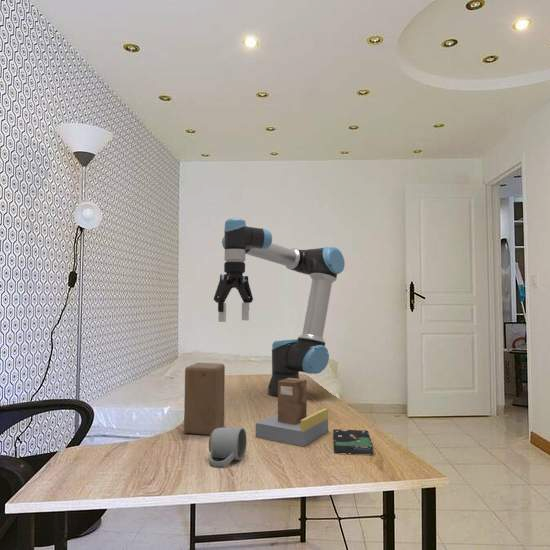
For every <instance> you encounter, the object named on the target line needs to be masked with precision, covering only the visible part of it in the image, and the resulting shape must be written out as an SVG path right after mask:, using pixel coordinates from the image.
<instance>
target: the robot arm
mask: <svg viewBox="0 0 550 550" xmlns="http://www.w3.org/2000/svg"><path fill="white" fill-rule="evenodd" d="M223 232H224V234H223V235H224V236H223V237H222V239H221V244H222V247H223V249H224V260H223V261H225V262H224V264H223V267H224V268H223V269H224V270H223V271H224V273H222V274H220V275H219V281H218V284H217V287H216V290H215V293H214V296H213V301H215V303H216V304H217V311H218V322H219V323H220V322H221V323H222V322H223V323H225V322H227V302H226V300H227V298H228V296H229V294H230V292H231V291H232V289H236V290H237V291H238V294H239V296H240V297H241V300H242V302H241V321H250V320H249V319H250V303H252V302H253V301H254V297H253V294H252V290H251V287H250V282H249V276H248V275H243V274H244V273H246V263H245V261H246V255H249V256H252V257H255V258H258V259H261V260H265V261H268V262H271V263H275V264H277V265H282V266H285V268H286V269H288V270H290V271H293V272H297V273H300V274H304V275H308V276H309V277H310V278H311V286H310V291H309V295H308V301H307V306H306V312H305V318H304V323H303V328H302V334H301V335H299V336H298V337H297V338H296V339H284V340H274V341H273V342H272V344H271V345H272V347H271V378H270V380H269V383H268V388H267V394H268V395H269V394H270V396H273V397H278V381H280V380H283V379H287V378H297V379H301V378H300V373H299V372H301V373H305V374H308V375H309V374H310V375H311V374H314V375H317V374H320V373H322V372H323V371H324V370H325V369H326V367H327V366H328V364H329V359H330V352H329V350H328V348H327V347H326V341H325V340H324V330H325V327H326V326H325V325H326V319H327V315H328V309H329V303H330V297H331V291H332V286H333V283H334V282H337V278H338V275H340V274H341V273H342V272H343V271H344V270H345V257H344V255H343V253H342V252H341V249H339V248H337V247H335V246H325V247H319V248H310V249H308V248H307V249H298V248H287V247H285V246H282V245H278V244H276V243H272V242H273V235H272V233H271V231H270V230H269V229H265V228H259V227H251V226H247V224H246V219H243V218H228V219H226V220H225V221H224V231H223Z"/></svg>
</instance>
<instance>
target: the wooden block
mask: <svg viewBox="0 0 550 550" xmlns="http://www.w3.org/2000/svg"><path fill="white" fill-rule="evenodd" d="M225 369H226V367H225V364H224V363H220V362H219V363H216V362H215V363H213V362H212V363H211V362H197V363H194V364H191V365H188V366H186V367H185V369H184V409H183V411H184V412H183V413H184V415H183V416H184V417H183V418H184V419H183V423H184V424H183V432H184V433H185V434H189V433H191V434H192V435H203V434H204V435H206V436H207V435H208V436H210V435H211V433H212V431H213V430H214V429H217V428H224V426H225V383H226V381H225V372H226V370H225ZM191 434H190V435H191Z"/></svg>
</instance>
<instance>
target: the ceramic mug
mask: <svg viewBox="0 0 550 550" xmlns="http://www.w3.org/2000/svg"><path fill="white" fill-rule="evenodd" d="M247 442H248V441H247V432H246V429H245V428H244V427H222V428H217V429H214V430H213V431H212V433H211V435H209V439H208V450H209V461H210V462H209V463H210V464H211V465H212V466H214V467H216V468H217V467H219V468H222V467H225V466H228V465H229V464H231V462H232V461H242V460H243V458H244V457H245V454H246V451H247V445H248V444H247ZM213 457H214V458H217V459H223V460H219V461H216V460H214V459H213Z"/></svg>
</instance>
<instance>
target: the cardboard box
mask: <svg viewBox="0 0 550 550" xmlns="http://www.w3.org/2000/svg"><path fill="white" fill-rule="evenodd" d="M307 386H308V384H307V378H306V379H305V378H300V379H297V378H287V379H283V380H280V381H278V396H277V414H278V422H281V423H287V424H293V425H296V424H298V423H300V422H301V420H302V419H304V418H306V417H307V415H308V414H307V406H308V405H307V404H308V403H307V401H308V400H307V395H308V394H307V393H308V392H307Z"/></svg>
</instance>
